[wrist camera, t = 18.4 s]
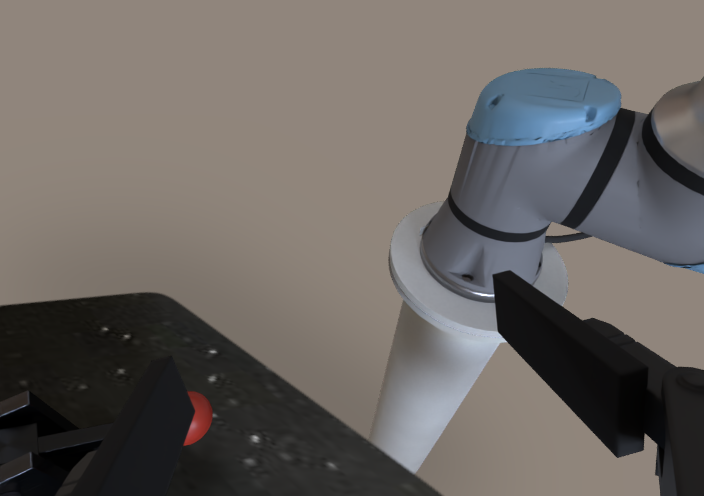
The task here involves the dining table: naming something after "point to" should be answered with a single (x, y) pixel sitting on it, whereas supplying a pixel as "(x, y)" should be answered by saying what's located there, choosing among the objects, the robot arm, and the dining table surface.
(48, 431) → the lever bracket
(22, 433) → the lever
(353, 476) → the dining table surface
